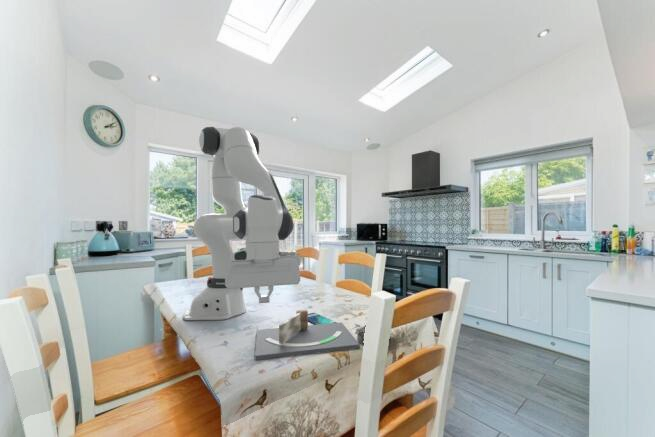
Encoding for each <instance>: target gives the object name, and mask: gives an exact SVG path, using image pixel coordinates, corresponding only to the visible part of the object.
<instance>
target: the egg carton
mask: <svg viewBox="0 0 655 437" xmlns="http://www.w3.org/2000/svg"><path fill="white" fill-rule="evenodd" d="M366 325H367V324H365V325H364V326H361V327H360V328H356V330H355V331H354V332H355V333H354V334H355V335H357V336H356V337H357V338H356V339H357V342H358V343H359V344H364V343H363V341H364V333H365V327H366Z"/></svg>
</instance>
